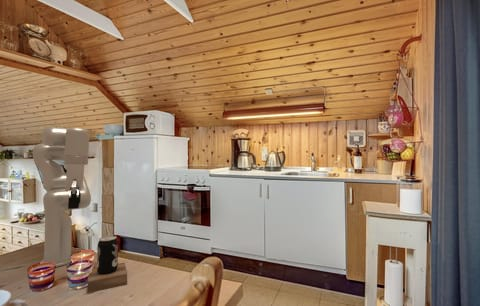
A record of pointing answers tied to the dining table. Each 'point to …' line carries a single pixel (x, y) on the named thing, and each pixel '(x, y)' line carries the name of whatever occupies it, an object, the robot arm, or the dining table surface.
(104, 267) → the beverage can
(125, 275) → the walnut base block
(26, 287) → the dining table surface
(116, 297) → the dining table surface
